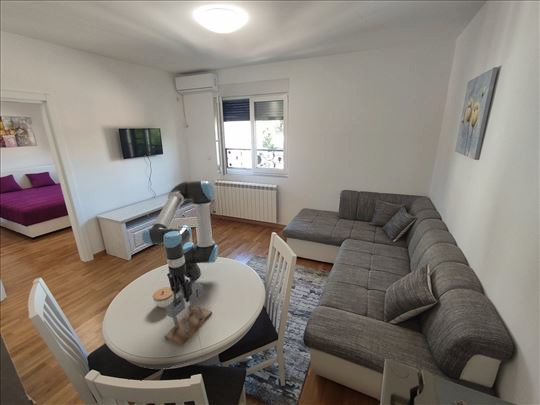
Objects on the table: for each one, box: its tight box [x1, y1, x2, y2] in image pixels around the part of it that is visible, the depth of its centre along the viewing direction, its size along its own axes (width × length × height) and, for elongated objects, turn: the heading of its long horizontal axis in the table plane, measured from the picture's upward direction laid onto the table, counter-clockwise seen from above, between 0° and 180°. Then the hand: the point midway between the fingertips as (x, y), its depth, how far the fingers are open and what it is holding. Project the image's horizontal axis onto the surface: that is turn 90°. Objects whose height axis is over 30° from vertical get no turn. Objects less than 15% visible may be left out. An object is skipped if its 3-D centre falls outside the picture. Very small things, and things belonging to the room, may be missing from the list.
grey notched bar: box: [165, 282, 204, 319], centre depth 120 cm, size 20×5×5 cm, turn 154°
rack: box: [164, 303, 213, 347], centre depth 122 cm, size 22×11×8 cm, turn 155°
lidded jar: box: [152, 286, 175, 309], centre depth 137 cm, size 11×11×9 cm
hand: (183, 304), depth 120 cm, fingers closed on grey notched bar, 4 cm apart
